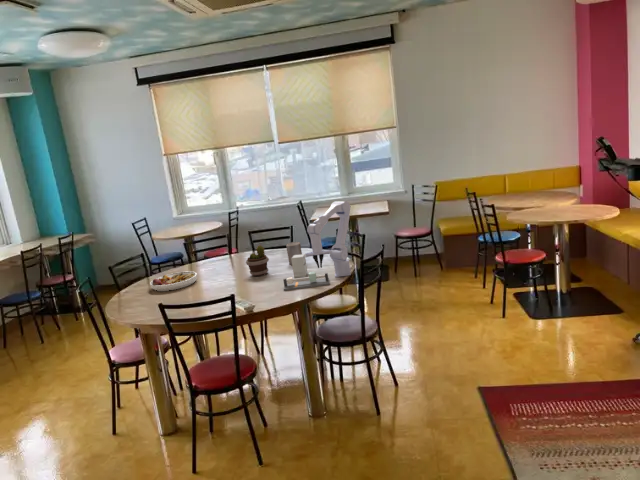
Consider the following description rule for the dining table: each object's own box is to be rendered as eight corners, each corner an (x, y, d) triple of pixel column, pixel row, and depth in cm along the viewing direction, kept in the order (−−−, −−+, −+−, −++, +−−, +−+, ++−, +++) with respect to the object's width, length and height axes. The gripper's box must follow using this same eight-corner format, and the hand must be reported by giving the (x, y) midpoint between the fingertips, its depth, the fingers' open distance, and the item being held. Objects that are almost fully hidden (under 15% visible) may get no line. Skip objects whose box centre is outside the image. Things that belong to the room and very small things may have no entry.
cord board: (329, 279, 301) (327, 270, 299) (329, 284, 291) (327, 275, 290) (285, 285, 302) (283, 276, 301) (283, 290, 292) (282, 281, 291)
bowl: (183, 276, 360) (181, 265, 358) (206, 281, 339) (204, 269, 337) (143, 289, 340) (141, 278, 338) (165, 295, 318) (162, 283, 317)
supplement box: (305, 276, 314) (302, 257, 311) (293, 277, 315) (290, 258, 313) (308, 273, 321) (305, 253, 318) (296, 274, 322) (293, 254, 320)
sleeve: (316, 279, 298) (315, 271, 297) (316, 281, 293) (315, 273, 292) (309, 279, 298) (308, 272, 297) (309, 282, 294) (308, 274, 293)
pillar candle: (295, 260, 357) (291, 239, 354) (306, 261, 351) (302, 239, 348) (286, 264, 350) (282, 243, 346) (297, 265, 344) (293, 243, 341)
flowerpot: (252, 279, 325) (247, 248, 321) (245, 274, 339) (240, 245, 335) (274, 274, 331) (269, 244, 326) (266, 269, 344) (261, 240, 340)
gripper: (303, 247, 287) (307, 271, 290) (329, 244, 287) (332, 267, 290) (304, 245, 294) (307, 267, 297) (329, 241, 294) (332, 264, 297)
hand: (319, 267), depth 294 cm, fingers closed
